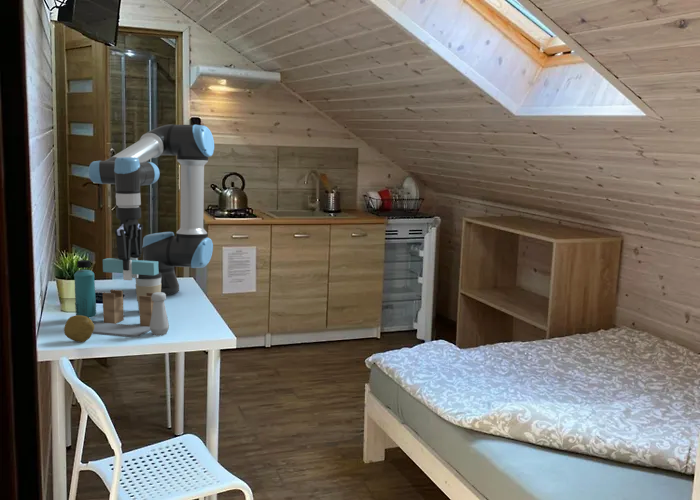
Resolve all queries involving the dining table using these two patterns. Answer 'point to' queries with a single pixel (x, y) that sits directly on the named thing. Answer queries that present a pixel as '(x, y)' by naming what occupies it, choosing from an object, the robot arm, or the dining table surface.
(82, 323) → the potato
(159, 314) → the salt shaker
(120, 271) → the rail
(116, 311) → the post
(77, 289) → the beverage bottle
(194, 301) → the dining table surface
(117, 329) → the mat
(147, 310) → the post
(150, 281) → the coffee cup
